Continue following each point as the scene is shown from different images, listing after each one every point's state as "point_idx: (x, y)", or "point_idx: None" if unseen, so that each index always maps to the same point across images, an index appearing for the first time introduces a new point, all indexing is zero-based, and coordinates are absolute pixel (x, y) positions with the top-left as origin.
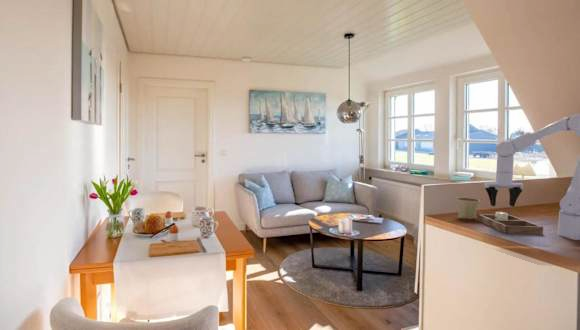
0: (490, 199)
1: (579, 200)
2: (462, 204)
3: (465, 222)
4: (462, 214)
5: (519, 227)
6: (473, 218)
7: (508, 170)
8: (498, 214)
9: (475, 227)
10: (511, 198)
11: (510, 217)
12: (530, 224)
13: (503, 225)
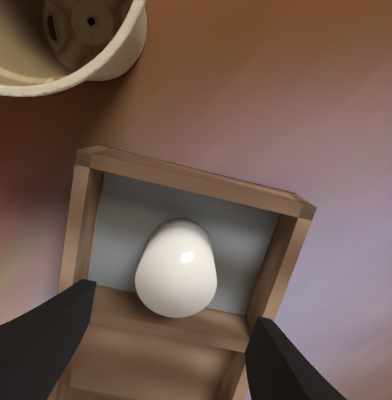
0: (47, 311)
1: None
2: None
3: (21, 127)
4: (22, 33)
5: None
6: (111, 77)
7: None
8: (137, 288)
9: (12, 244)
10: (276, 392)
11: (289, 224)
12: (232, 388)
13: None
